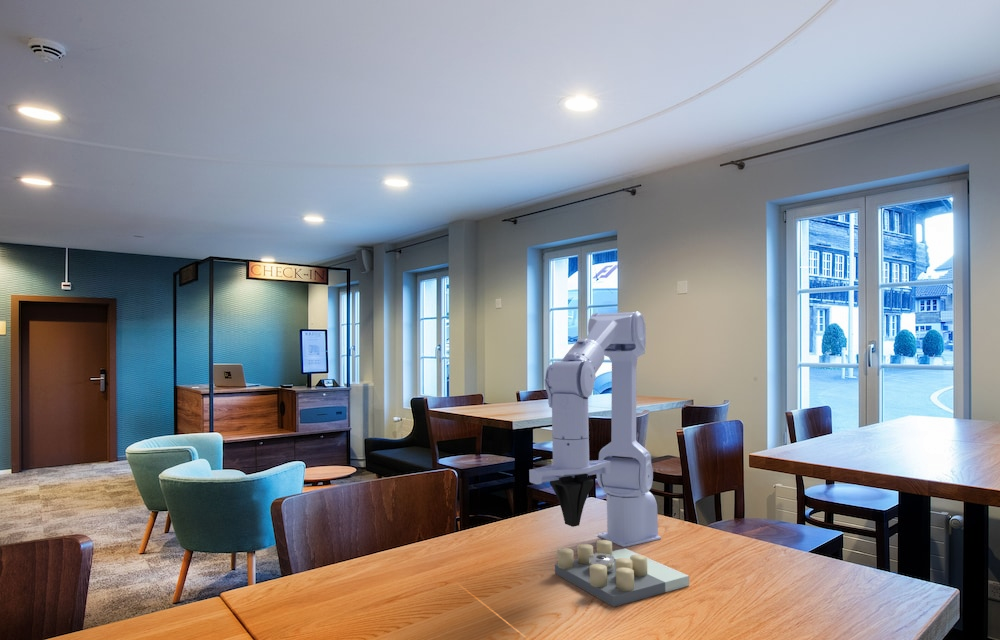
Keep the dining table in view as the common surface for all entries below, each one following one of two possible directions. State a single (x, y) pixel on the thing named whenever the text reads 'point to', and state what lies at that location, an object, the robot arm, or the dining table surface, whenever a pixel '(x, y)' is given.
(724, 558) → the dining table surface
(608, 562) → the steel nut
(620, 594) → the board
